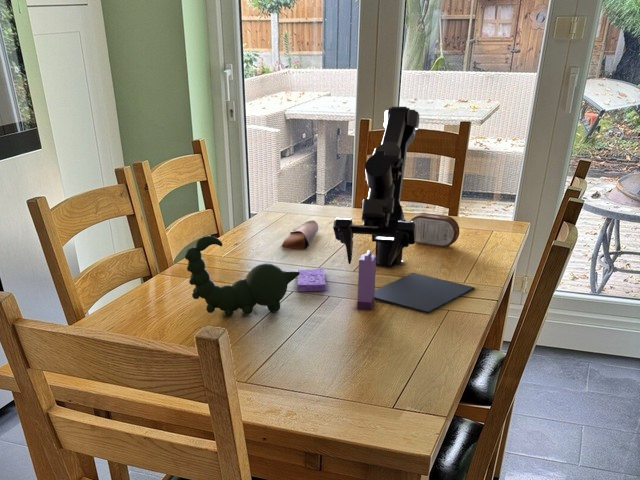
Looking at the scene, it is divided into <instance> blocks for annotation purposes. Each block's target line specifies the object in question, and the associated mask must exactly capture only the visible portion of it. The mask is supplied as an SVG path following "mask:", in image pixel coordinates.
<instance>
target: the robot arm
mask: <svg viewBox="0 0 640 480" xmlns="http://www.w3.org/2000/svg"><path fill="white" fill-rule="evenodd" d="M383 120H384V122H383V128H384V133H383V137H382V141H381V144H379V145H378V146H377V147H375V148H374V151H373V153H372V155H371V156H369V158H368V159H367V160H366V161H365V164H364V170H365V177H366V182H367V183H366V184H367V187H368V188H369V190H368V196H367V198H363V200H362V205H361V206H362V208H361V222H362V223H363V224H354V223H353V218H352V217H351V218H349V217H336V218H335V220H334V221H333V224H332V225H333V226H332V228H333V233H334V236H335V240H337V241H340V243H341V244H343V245H344V246H345V250H346V256H347V263H348V265H351V264H352V260H353V248H354V240H353V238H354V234H355V235H371V242H372V243H373V242H374V243H375V252H374V255H376V266H379V267H383V268H388V269H392V268H394V267H397V266H399V265H402V264H404V261H405V260H403V252H404V251H403V249H404V248H408V247H409V245H414V244H415V243H416V242H415V238H416V225H415V223H414V222H413V221H410V220H406V219H405V214H404V210H403V208H402V205H401V199H402V198H401V197H402V190H403V183H404V176H405V169H406V168H405V167H406V160H407V152H408V148H409V146H410V145H411V144H412V143H413V141H414V140H415V138H416V131H417V130H419V126H420V113H419V111H417V110H416V109H410V107H407V106H394V105H393V106H391V107H388V110H387V109H386V110H385V111H384V119H383Z"/></svg>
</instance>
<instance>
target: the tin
mask: <svg viewBox="0 0 640 480" xmlns="http://www.w3.org/2000/svg"><path fill="white" fill-rule="evenodd" d="M409 221H413V222H414V223H415V225H416V238H415V243H416V244H418V245H424V246H425V245H426V246H430V247H431V246H432V247H438V248H447V247H450V246H451V245H453V244H454V243H455V242H456V241H457V240H458V239H459V236H460V226H459V224H458V222H457V220H456V219H454V218H453V217H452V216H449V215H442V214H435V213H429V212H419V213H416V214H415V215H414V216H413V217H412V218H411V219H409Z"/></svg>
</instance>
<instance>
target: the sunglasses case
mask: <svg viewBox="0 0 640 480" xmlns="http://www.w3.org/2000/svg"><path fill="white" fill-rule="evenodd" d="M318 231H319V224H318V222H317V221H316V220H308V221H305V222H303V223H301V224H300V225H297V226H296V227H294V228H293V229H291V231H290V233H289V234H288V235H287V236H286V238H285V239H284V240H283V242H282V243H281V246H280V247H281V248H282V249H283V248H284V249H288V250H296V251H297V250H298V251H305V250H307V249H308V248H309V247H310V245H311V243H312V241H313V239H314V238H315V236H316V235H317V232H318Z"/></svg>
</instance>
